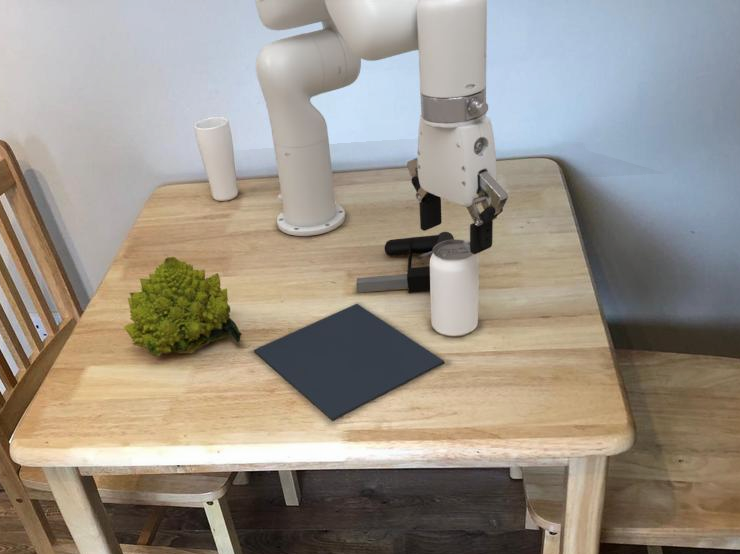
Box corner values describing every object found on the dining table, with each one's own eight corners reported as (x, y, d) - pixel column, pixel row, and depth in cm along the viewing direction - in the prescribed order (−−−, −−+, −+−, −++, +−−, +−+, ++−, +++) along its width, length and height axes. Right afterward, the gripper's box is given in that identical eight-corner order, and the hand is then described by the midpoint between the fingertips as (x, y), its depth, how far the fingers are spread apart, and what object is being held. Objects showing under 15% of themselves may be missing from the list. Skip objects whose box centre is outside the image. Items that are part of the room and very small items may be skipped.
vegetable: (268, 316, 107) (190, 248, 100) (196, 400, 108) (112, 338, 100) (236, 290, 120) (165, 228, 112) (172, 365, 120) (96, 308, 112)
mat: (254, 352, 108) (253, 349, 108) (357, 305, 115) (356, 303, 114) (332, 421, 94) (332, 418, 93) (444, 363, 101) (444, 360, 100)
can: (427, 316, 110) (424, 241, 103) (471, 310, 110) (472, 234, 103) (436, 341, 105) (434, 263, 98) (483, 334, 105) (484, 256, 98)
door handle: (352, 298, 112) (463, 289, 108) (362, 236, 127) (460, 226, 124) (355, 318, 113) (464, 309, 110) (365, 254, 129) (461, 245, 126)
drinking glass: (240, 201, 151) (226, 126, 142) (207, 205, 151) (191, 130, 142) (243, 188, 156) (230, 115, 147) (211, 191, 157) (196, 118, 148)
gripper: (531, 110, 84) (525, 249, 94) (430, 84, 96) (434, 210, 107) (480, 128, 81) (479, 270, 91) (383, 100, 94) (392, 228, 104)
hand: (455, 238), depth 99 cm, fingers open, 9 cm apart
